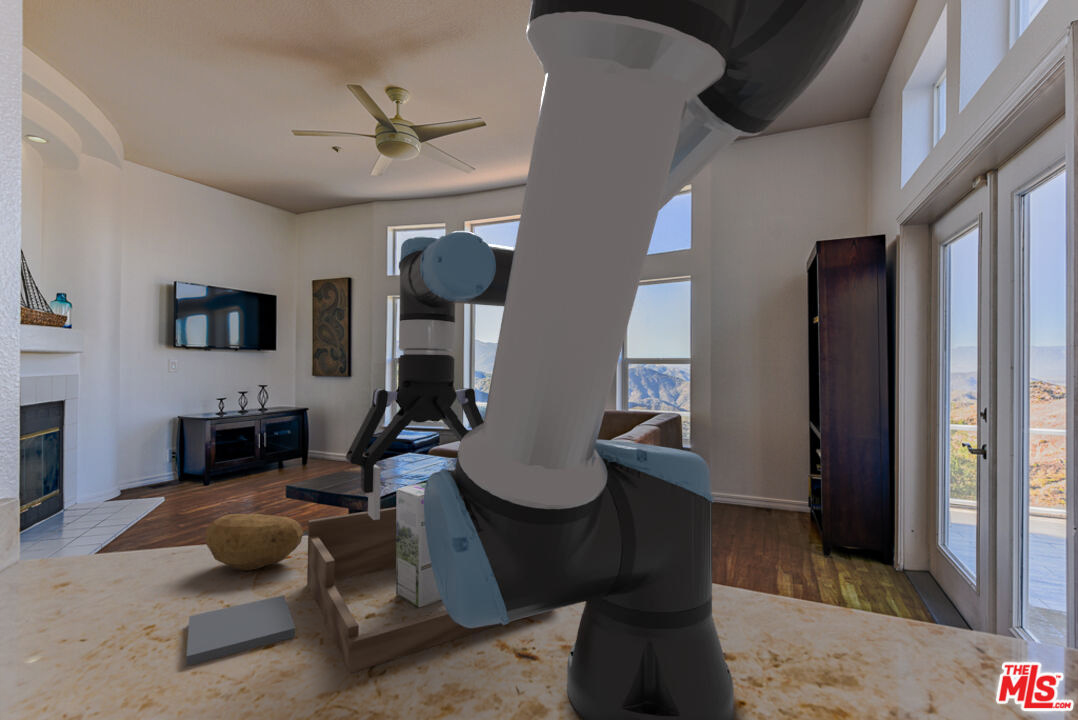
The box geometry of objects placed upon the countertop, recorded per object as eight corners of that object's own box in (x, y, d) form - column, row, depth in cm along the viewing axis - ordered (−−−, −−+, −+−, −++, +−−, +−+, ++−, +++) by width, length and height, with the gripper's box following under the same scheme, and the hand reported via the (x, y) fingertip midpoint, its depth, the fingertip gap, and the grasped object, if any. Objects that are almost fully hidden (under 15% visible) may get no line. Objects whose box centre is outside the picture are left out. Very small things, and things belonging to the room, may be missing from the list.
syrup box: (454, 594, 66) (455, 486, 67) (417, 609, 62) (418, 494, 62) (430, 582, 70) (431, 480, 70) (393, 595, 66) (394, 487, 66)
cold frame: (553, 607, 63) (553, 536, 63) (350, 673, 49) (351, 581, 49) (467, 549, 83) (467, 496, 84) (307, 584, 69) (308, 520, 69)
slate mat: (295, 636, 55) (295, 628, 55) (186, 666, 50) (186, 656, 50) (283, 602, 63) (283, 595, 63) (189, 624, 58) (189, 616, 58)
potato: (281, 580, 70) (283, 525, 71) (187, 578, 71) (189, 523, 71) (315, 556, 80) (316, 506, 80) (232, 554, 81) (233, 505, 81)
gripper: (493, 356, 77) (491, 491, 77) (323, 351, 63) (320, 516, 63) (518, 355, 71) (516, 502, 71) (336, 350, 57) (333, 533, 56)
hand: (424, 509), depth 67 cm, fingers open, 13 cm apart
